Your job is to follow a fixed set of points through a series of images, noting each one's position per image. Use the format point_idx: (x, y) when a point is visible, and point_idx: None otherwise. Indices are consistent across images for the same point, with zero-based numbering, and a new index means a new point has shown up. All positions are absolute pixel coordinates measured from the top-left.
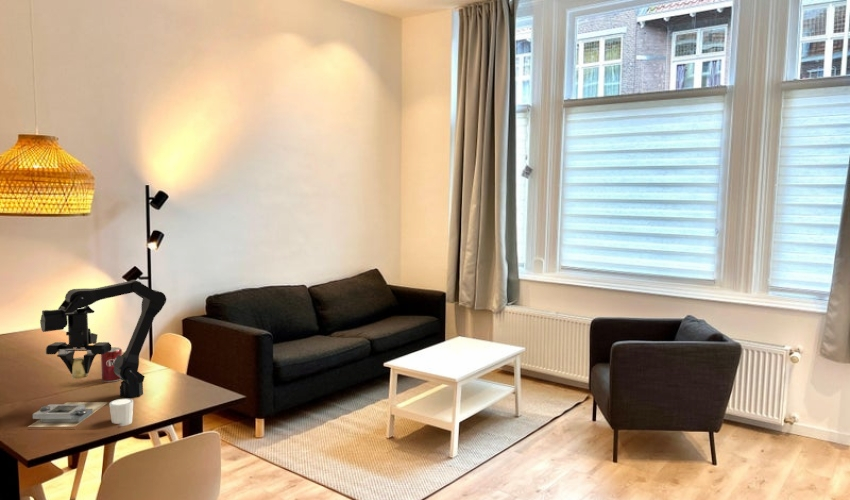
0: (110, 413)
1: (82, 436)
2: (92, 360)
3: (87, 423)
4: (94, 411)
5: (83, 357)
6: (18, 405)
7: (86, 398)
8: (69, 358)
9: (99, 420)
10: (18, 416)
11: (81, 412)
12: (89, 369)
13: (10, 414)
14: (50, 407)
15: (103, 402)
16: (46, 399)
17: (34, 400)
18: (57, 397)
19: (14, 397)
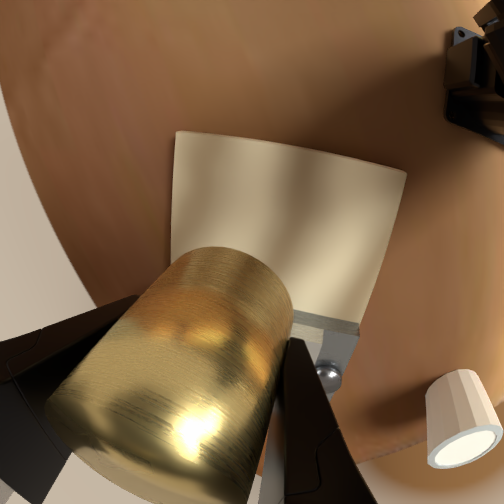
0: (427, 426)
1: (349, 441)
2: (347, 476)
3: (349, 375)
4: (362, 304)
5: (139, 438)
6: (31, 125)
7: (241, 28)
8: (40, 445)
9: (387, 359)
10: (80, 242)
11: (324, 388)
12: (311, 370)
13: (52, 216)
14: None
15: (381, 172)
16: (78, 52)
17: (49, 69)
18: (106, 23)
19: (4, 52)
